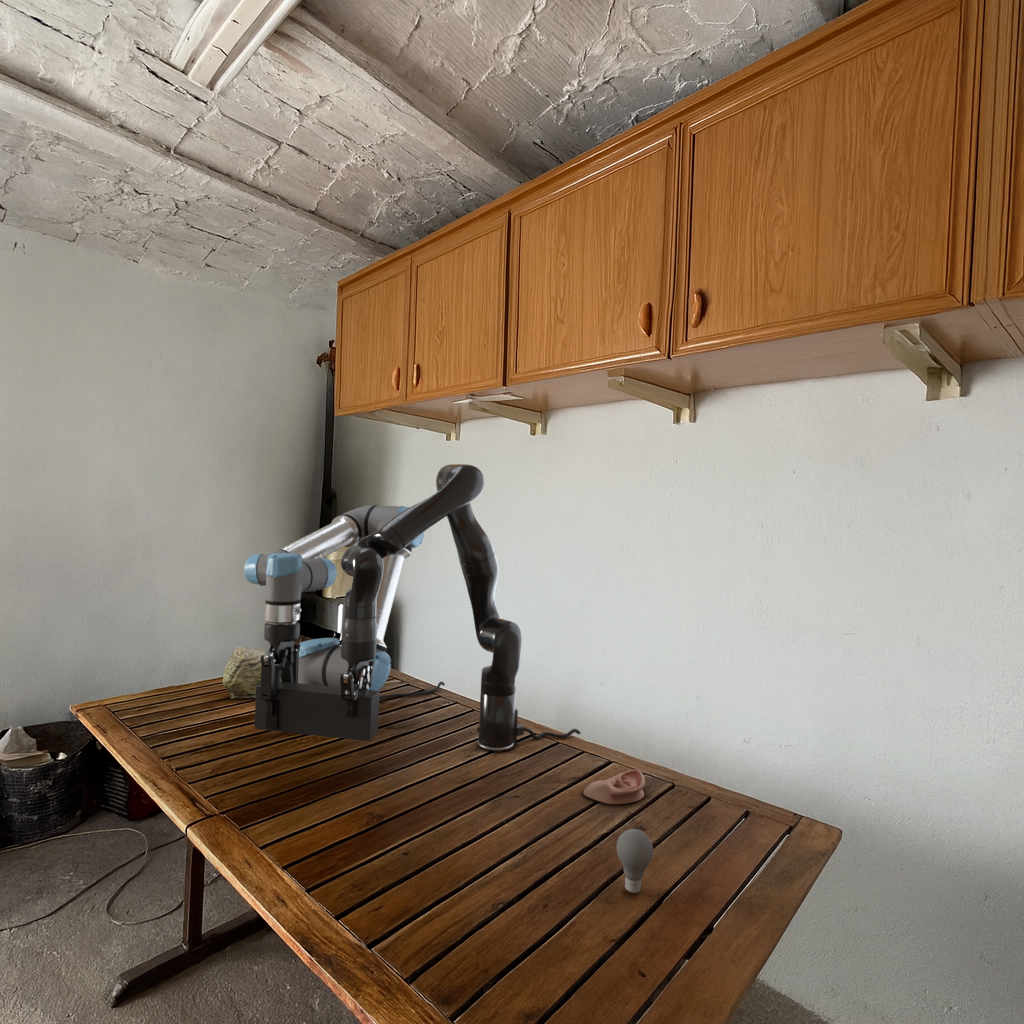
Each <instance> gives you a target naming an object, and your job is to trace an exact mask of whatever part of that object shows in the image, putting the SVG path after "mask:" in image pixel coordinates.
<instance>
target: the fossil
mask: <svg viewBox="0 0 1024 1024" xmlns="http://www.w3.org/2000/svg"><path fill="white" fill-rule="evenodd" d="M267 654H268V653H266V652H265V650H264V649H263V648H260V647H258V648H251V647H247V646H246V647H245V646H238V647H237V648H236V649H235V650H233V651H232V653H231V656H230V657H229V659H228V660H227V663H226V666H225V668H224V671H223V675H222V676H223V677H222V685H223V687H224V688H225V690H226V691H228V693H229V698H230V699H250V698H256V686H258V685H260V684H261V668H262V666H261V660H260V658H261V656H262V655H267ZM280 682H281V679H280Z"/></svg>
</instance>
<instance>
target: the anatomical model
mask: <svg viewBox="0 0 1024 1024" xmlns="http://www.w3.org/2000/svg"><path fill="white" fill-rule="evenodd" d="M645 785H646V779H645V775H644V773H643V772H642V771H641V770H639V769H630V770H626V771H623V772H620V773H618V774H616V775H613V776H612V777H609V778H607V779H604V780H597V781H595V780H594V781H593V782H591V783H589V784H588V785H587V786H586V787H585V788H584V790H583V793H582V794H583V796H585V797H586V798H588V799H591V800H594V801H596V802H600V803H603V804H607V805H624V804H630V803H636V802H638V801H640V800H642V799H643V798H644V796H645V792H644V790H643V789H644V787H645Z"/></svg>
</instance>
